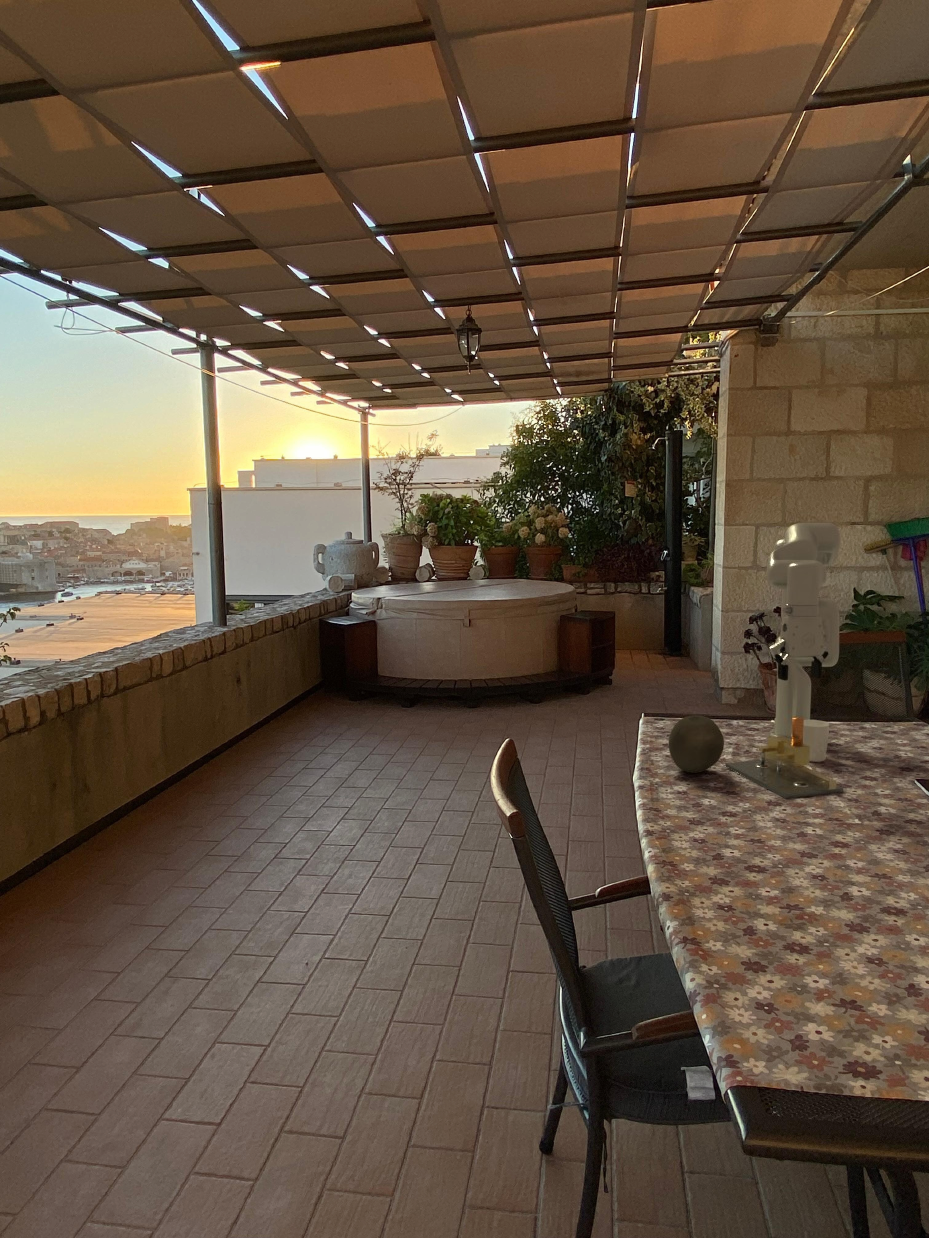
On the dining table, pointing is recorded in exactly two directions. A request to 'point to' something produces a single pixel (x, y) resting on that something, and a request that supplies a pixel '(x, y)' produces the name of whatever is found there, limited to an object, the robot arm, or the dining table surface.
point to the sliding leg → (795, 747)
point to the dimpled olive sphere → (695, 743)
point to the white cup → (816, 739)
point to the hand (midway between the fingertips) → (799, 678)
